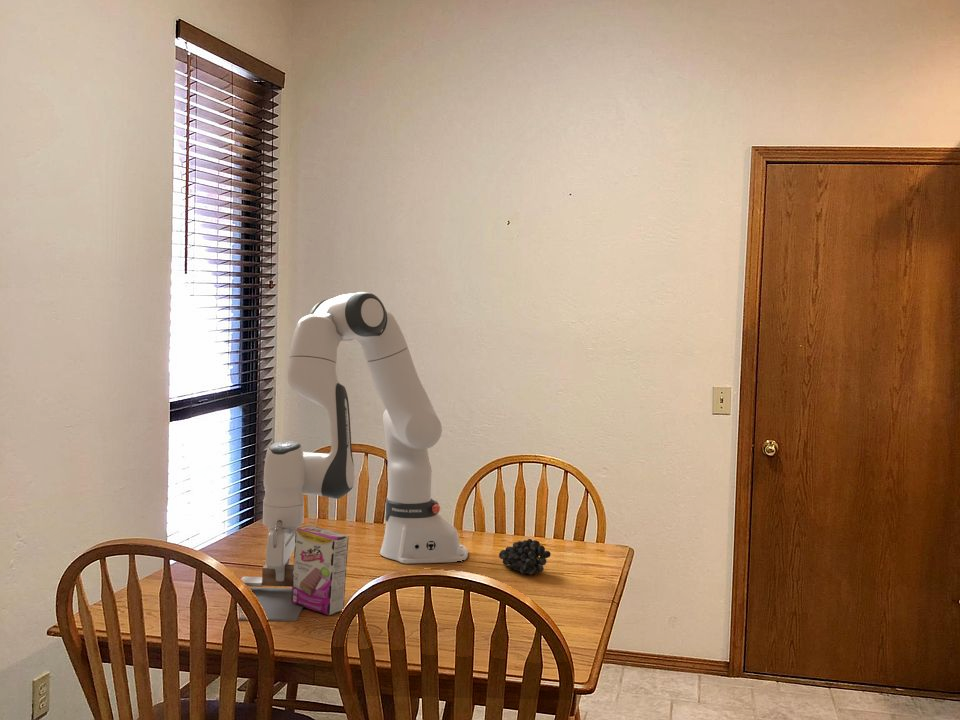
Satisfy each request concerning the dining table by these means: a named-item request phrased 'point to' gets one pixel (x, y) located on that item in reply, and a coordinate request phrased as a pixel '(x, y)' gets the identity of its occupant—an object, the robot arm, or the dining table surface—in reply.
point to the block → (270, 578)
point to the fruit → (525, 556)
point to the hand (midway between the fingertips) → (282, 577)
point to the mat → (276, 604)
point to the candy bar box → (319, 569)
